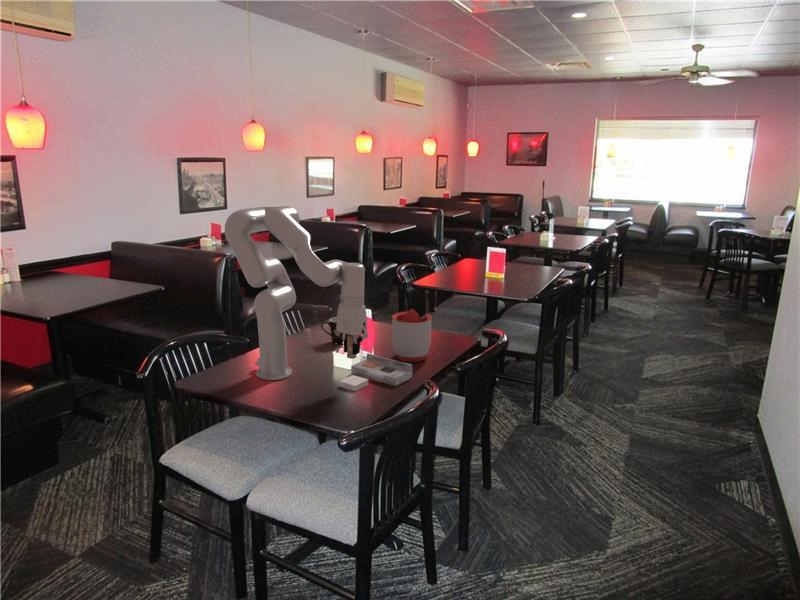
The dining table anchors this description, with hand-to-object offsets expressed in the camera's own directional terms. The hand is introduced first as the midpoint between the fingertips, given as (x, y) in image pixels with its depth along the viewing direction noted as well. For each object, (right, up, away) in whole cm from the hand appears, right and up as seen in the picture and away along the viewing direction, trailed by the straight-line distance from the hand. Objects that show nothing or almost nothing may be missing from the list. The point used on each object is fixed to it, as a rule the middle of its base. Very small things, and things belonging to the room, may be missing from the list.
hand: (351, 352), depth 190 cm
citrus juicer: (+21, -5, +31) cm, 38 cm away
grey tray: (+10, -10, +12) cm, 18 cm away
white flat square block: (+1, -12, +3) cm, 12 cm away
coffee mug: (-11, 0, +50) cm, 51 cm away
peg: (0, -2, 0) cm, 2 cm away
